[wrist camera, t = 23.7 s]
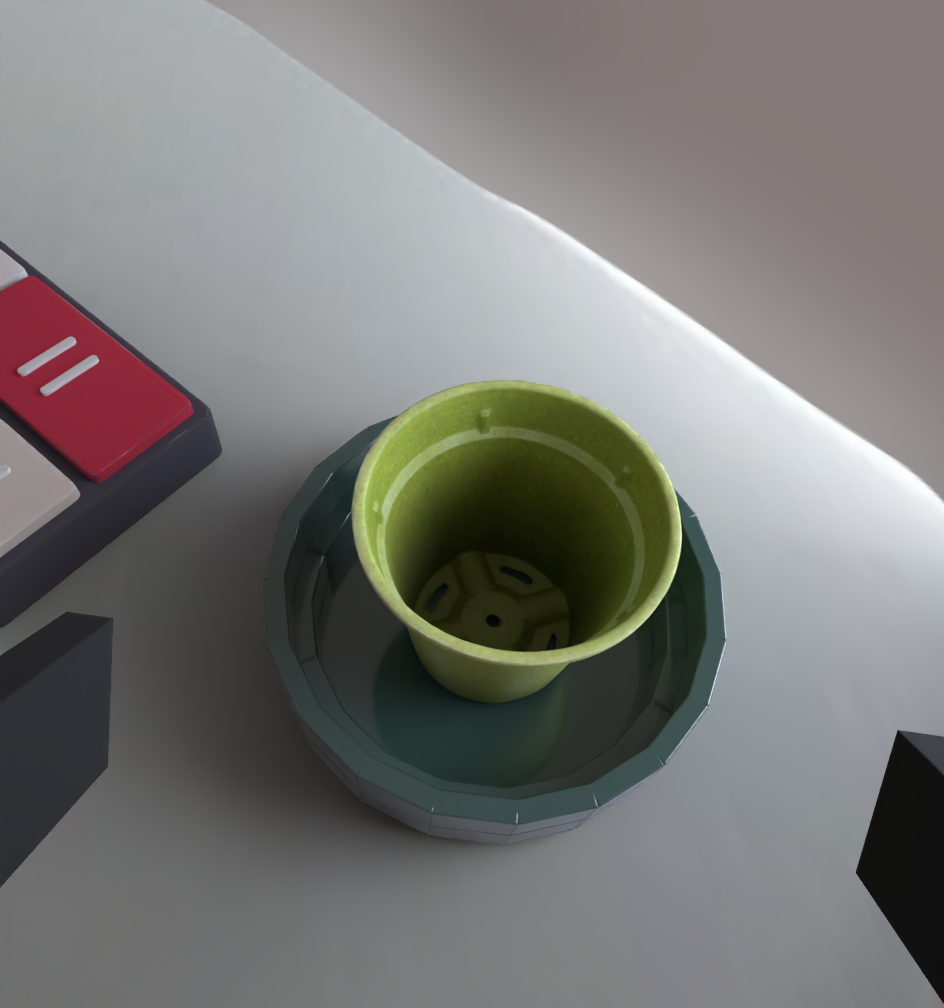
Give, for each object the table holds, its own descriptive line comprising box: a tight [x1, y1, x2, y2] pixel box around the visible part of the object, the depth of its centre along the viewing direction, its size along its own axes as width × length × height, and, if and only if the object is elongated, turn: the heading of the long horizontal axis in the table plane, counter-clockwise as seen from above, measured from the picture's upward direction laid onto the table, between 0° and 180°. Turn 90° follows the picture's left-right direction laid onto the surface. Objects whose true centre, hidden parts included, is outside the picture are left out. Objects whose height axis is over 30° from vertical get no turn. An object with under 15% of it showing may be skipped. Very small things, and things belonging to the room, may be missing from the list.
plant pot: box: [352, 380, 682, 703], centre depth 25 cm, size 9×9×9 cm
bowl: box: [263, 415, 726, 845], centre depth 27 cm, size 15×15×4 cm
